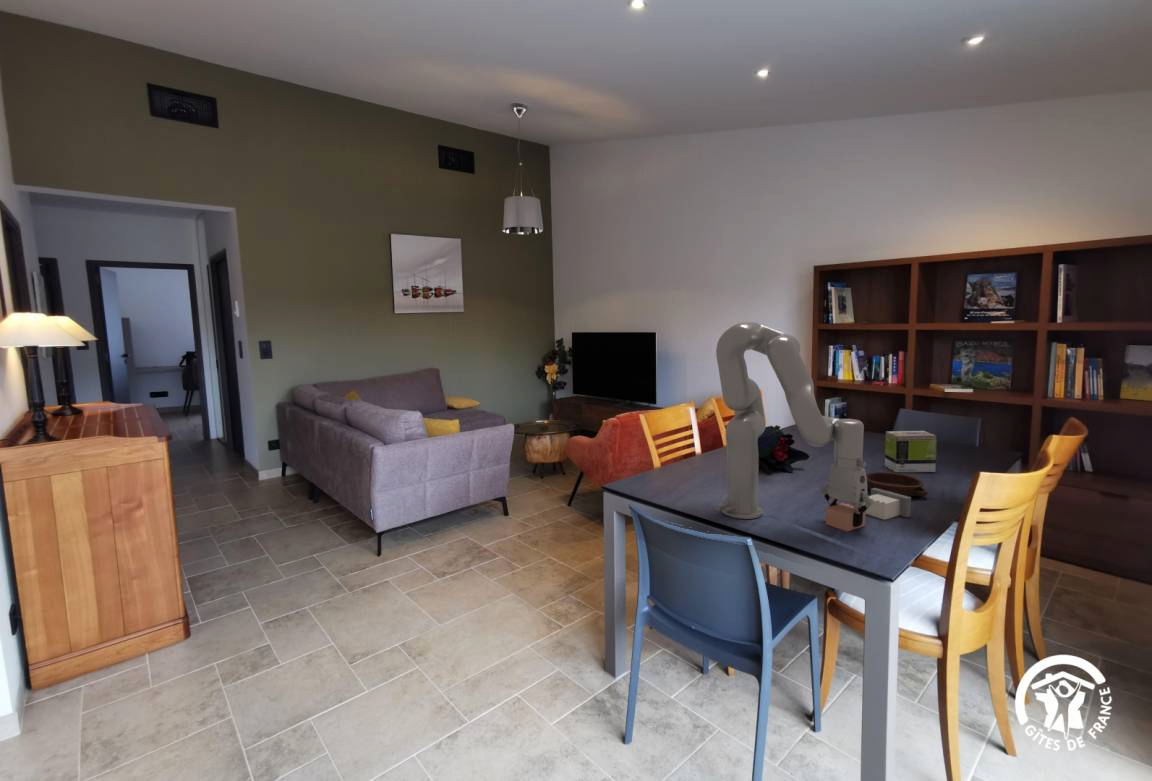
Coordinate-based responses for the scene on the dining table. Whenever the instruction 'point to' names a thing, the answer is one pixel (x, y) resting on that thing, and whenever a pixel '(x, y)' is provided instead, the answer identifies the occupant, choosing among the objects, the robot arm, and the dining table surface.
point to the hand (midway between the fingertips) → (845, 521)
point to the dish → (896, 483)
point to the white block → (888, 504)
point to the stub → (842, 516)
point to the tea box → (910, 451)
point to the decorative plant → (778, 450)
